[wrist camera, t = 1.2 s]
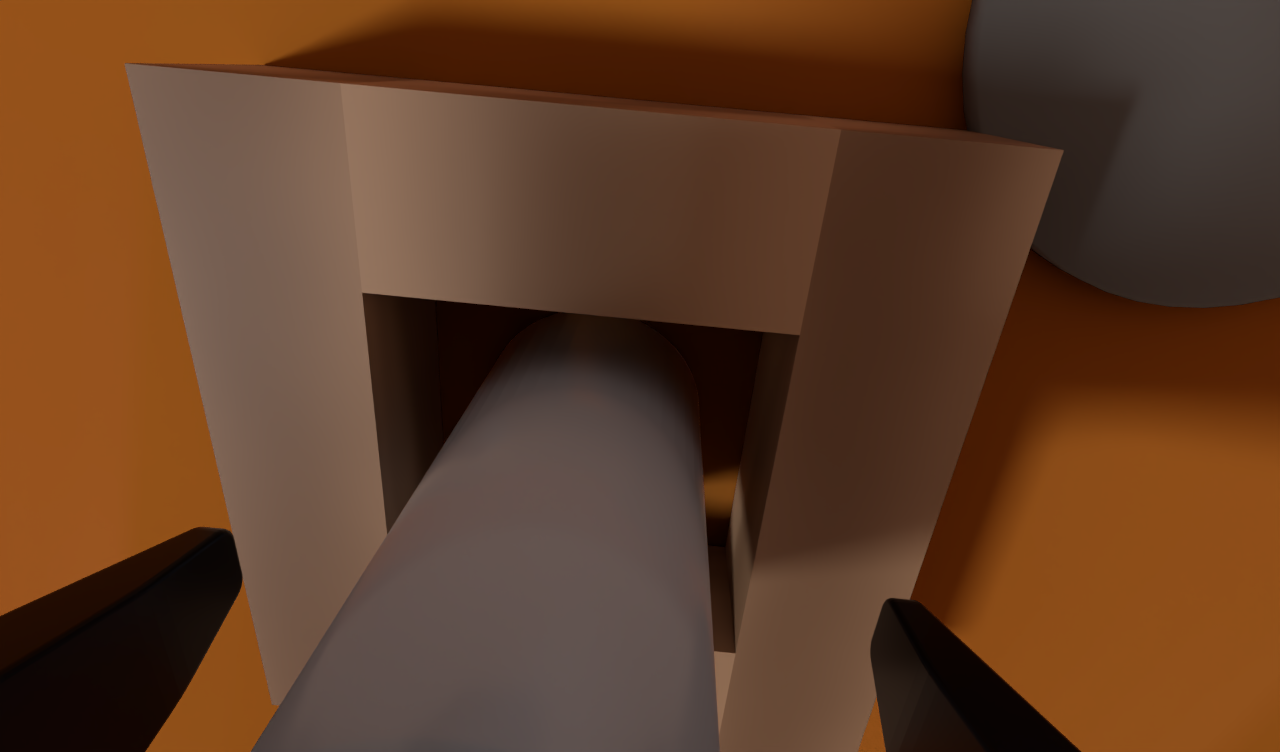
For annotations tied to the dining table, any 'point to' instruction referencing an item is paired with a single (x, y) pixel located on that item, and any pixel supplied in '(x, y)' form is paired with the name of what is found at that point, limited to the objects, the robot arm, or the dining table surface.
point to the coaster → (1143, 137)
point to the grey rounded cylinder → (535, 571)
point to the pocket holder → (594, 285)
